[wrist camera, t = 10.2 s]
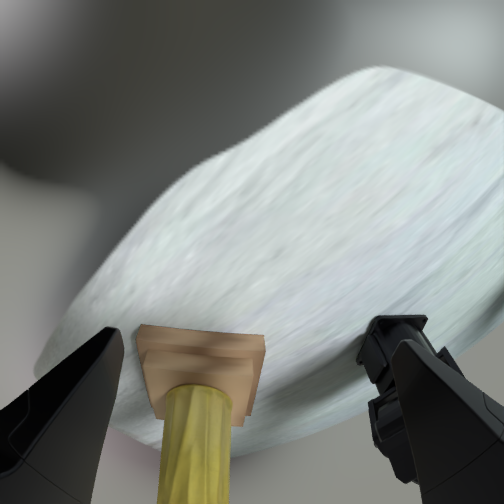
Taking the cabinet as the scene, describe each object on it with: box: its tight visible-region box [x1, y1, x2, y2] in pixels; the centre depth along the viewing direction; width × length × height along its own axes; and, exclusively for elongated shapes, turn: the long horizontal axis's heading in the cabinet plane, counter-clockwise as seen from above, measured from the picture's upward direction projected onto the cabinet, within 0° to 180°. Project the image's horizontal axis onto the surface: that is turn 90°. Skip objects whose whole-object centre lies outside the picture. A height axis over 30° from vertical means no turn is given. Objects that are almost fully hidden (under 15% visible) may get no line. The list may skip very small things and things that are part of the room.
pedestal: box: [136, 324, 266, 427], centre depth 25 cm, size 11×11×4 cm
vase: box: [157, 384, 233, 504], centre depth 17 cm, size 6×6×14 cm
